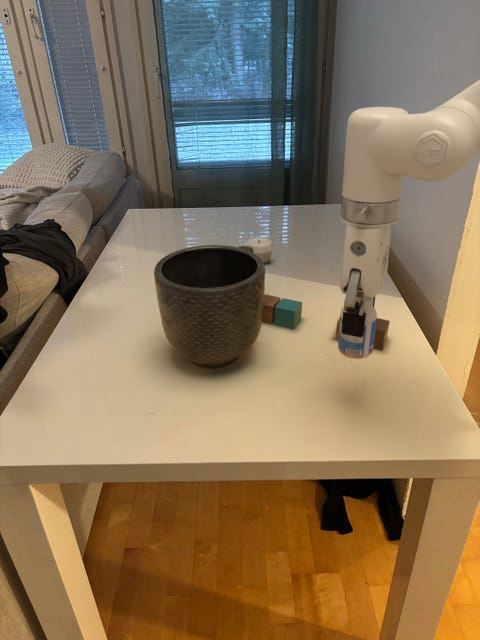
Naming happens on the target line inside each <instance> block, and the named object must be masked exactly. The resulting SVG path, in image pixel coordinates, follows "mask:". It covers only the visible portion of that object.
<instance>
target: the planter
mask: <svg viewBox="0 0 480 640" xmlns="http://www.w3.org/2000/svg"><path fill="white" fill-rule="evenodd" d="M238 247H239V246H231V245H223V244H205V245H196V246H195V245H194V246H189V247H186V248H182V249H178V250H176V251H173V252H170V253H168V254H167V255H165V256H163V257H162V258H161V259H160V260H159V261H157V262H156V264H155V266H154V270H153V277H154V284H155V285H154V286H155V293H156V299H157V305H158V310H159V316H160V321H161V325H162V329H163V332H164V335H165V337H166V340H167V341H168V344H169V345H170V346H171V348H172V349H173V350H174V351H175V352H176V353H177V354H179V355H180V356H181V357H183V358H185V359H186V360H188V361H189V362H190V363H191V364H193V365H194V366H197V367H198V368H202V369H207V370H217V369H224V368H227V367H229V366H231V365H233V364H235V363H236V362H237V361H238V360H239V359H240V358H241V357H242V356H244V355H245V354H246V353H247V352H248V351H249V350H251V348H252V347H253V346H254V345H255V343H256V342H257V339H258V337H259V335H260V332H261V328H262V323H263V322H262V317H263V304H264V294H265V290H266V289H265V288H266V285H265V284H266V267H265V263H263V261H262V259H261V258H260V257H259V256H257V255H256V254H254V253H252V252H250V251H248V250H245V249H242V248H238Z"/></svg>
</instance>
